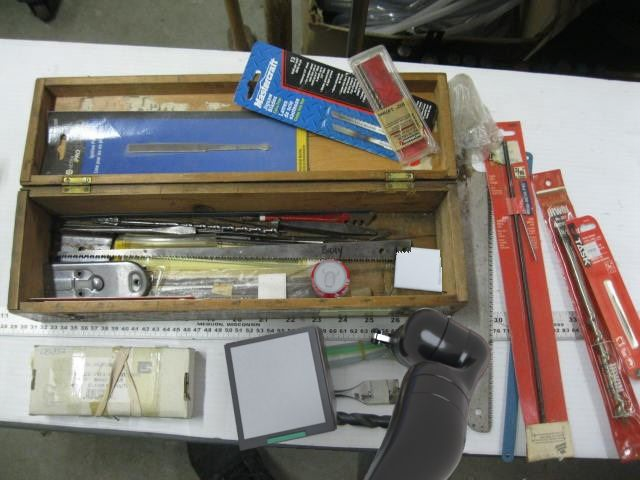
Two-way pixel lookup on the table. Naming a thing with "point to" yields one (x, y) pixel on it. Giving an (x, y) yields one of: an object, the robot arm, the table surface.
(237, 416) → the scale
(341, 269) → the soda can
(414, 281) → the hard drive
